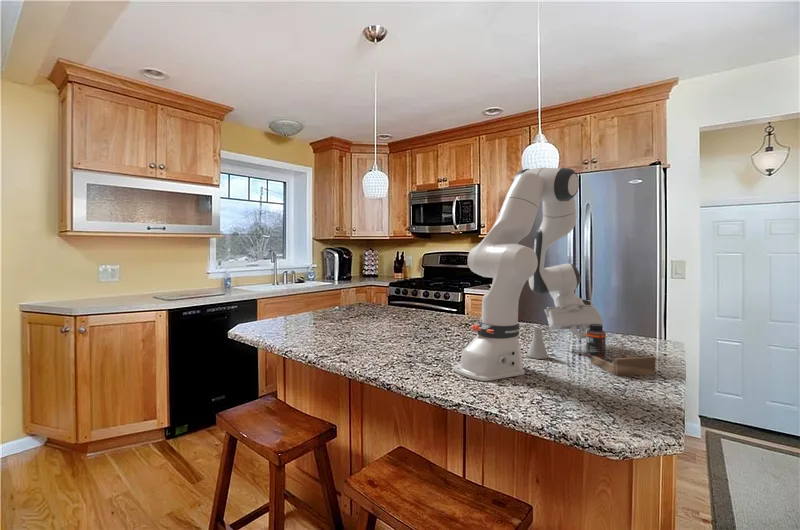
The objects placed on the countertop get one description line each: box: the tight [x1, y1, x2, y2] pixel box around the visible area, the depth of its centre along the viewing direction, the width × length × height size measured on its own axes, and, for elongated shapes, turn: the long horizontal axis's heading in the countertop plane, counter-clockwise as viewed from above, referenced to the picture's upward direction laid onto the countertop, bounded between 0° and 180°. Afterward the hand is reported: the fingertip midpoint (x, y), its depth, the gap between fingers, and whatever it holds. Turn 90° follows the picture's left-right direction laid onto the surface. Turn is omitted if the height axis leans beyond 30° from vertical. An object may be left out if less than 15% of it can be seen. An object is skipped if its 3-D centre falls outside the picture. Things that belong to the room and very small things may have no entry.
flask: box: [526, 326, 549, 360], centre depth 137 cm, size 7×7×10 cm
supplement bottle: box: [585, 324, 607, 359], centre depth 136 cm, size 6×6×11 cm
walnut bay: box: [590, 354, 656, 377], centre depth 124 cm, size 13×12×5 cm
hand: (582, 337), depth 144 cm, fingers closed
